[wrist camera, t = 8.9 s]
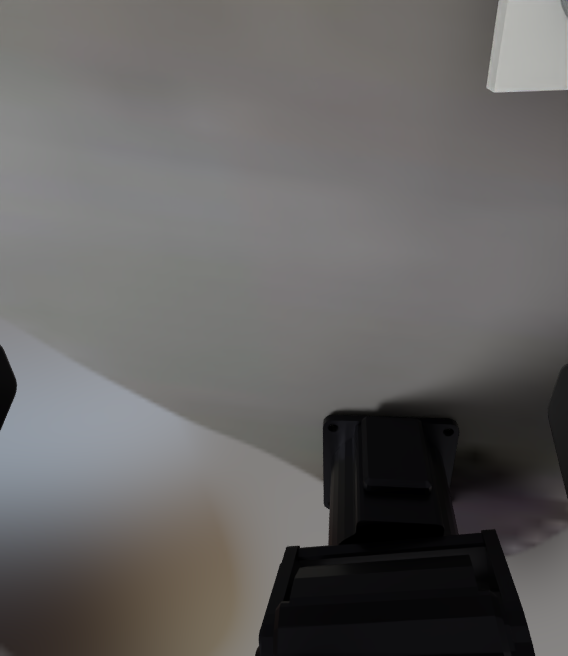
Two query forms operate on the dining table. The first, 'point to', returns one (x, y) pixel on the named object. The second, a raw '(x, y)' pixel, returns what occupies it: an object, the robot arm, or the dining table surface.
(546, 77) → the white square board
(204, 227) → the dining table surface
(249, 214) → the dining table surface
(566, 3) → the silver metal dome
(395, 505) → the robot arm
